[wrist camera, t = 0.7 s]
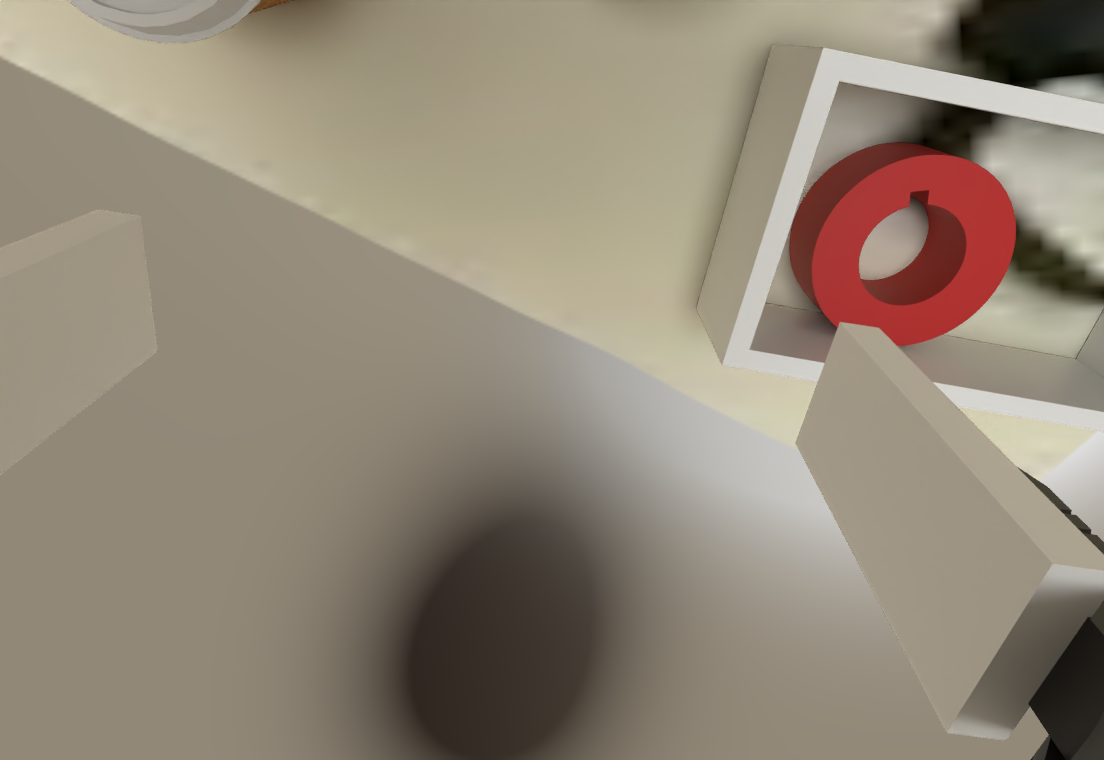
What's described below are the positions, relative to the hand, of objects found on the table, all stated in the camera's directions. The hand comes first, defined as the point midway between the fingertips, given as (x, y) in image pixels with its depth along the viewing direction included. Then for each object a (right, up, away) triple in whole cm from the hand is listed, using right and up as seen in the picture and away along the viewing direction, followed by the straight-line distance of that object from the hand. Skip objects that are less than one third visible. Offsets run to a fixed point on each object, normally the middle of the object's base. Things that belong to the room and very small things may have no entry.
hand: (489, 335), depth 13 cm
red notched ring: (+18, +12, +24) cm, 33 cm away
